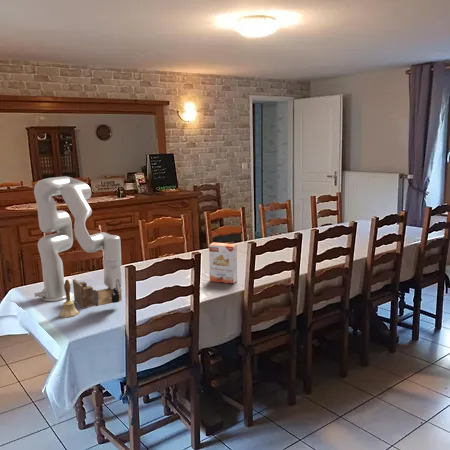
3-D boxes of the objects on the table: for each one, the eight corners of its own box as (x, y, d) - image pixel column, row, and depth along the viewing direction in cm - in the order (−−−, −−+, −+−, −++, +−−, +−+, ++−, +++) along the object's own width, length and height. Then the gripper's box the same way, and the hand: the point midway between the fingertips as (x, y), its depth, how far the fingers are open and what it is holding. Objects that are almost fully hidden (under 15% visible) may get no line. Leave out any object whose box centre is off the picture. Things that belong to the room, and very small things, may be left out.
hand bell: (62, 311, 208) (59, 277, 205) (80, 310, 209) (78, 276, 205) (57, 318, 200) (54, 283, 197) (76, 317, 201) (73, 282, 197)
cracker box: (209, 281, 246) (208, 244, 241) (213, 278, 251) (213, 241, 247) (233, 284, 240) (233, 246, 236) (237, 281, 246) (237, 243, 242)
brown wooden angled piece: (82, 308, 211) (80, 286, 209) (74, 300, 220) (72, 279, 218) (115, 300, 220) (113, 279, 218) (106, 293, 230) (104, 273, 227)
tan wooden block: (96, 306, 202) (95, 292, 201) (93, 303, 205) (92, 290, 203) (121, 300, 209) (121, 287, 208) (118, 298, 212) (118, 285, 210)
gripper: (98, 259, 209) (99, 296, 213) (111, 268, 196) (113, 308, 200) (113, 256, 213) (114, 293, 217) (128, 266, 200) (129, 305, 204)
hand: (113, 300), depth 209 cm, fingers closed on tan wooden block, 3 cm apart
